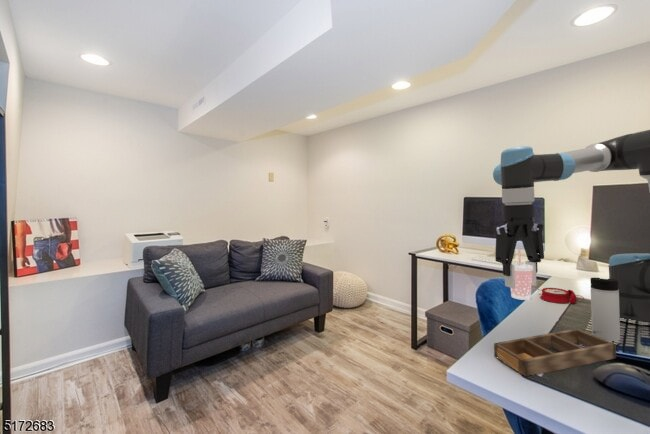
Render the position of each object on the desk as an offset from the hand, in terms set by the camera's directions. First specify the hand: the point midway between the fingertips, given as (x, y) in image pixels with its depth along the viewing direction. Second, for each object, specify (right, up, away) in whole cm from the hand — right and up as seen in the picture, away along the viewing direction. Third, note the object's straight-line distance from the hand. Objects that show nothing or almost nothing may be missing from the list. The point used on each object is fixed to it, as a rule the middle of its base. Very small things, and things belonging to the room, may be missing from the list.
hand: (520, 285), depth 82 cm
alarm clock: (+46, -17, +43) cm, 66 cm away
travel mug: (+31, -19, +8) cm, 38 cm away
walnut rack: (+10, -21, +1) cm, 23 cm away
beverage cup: (0, -4, 0) cm, 4 cm away
